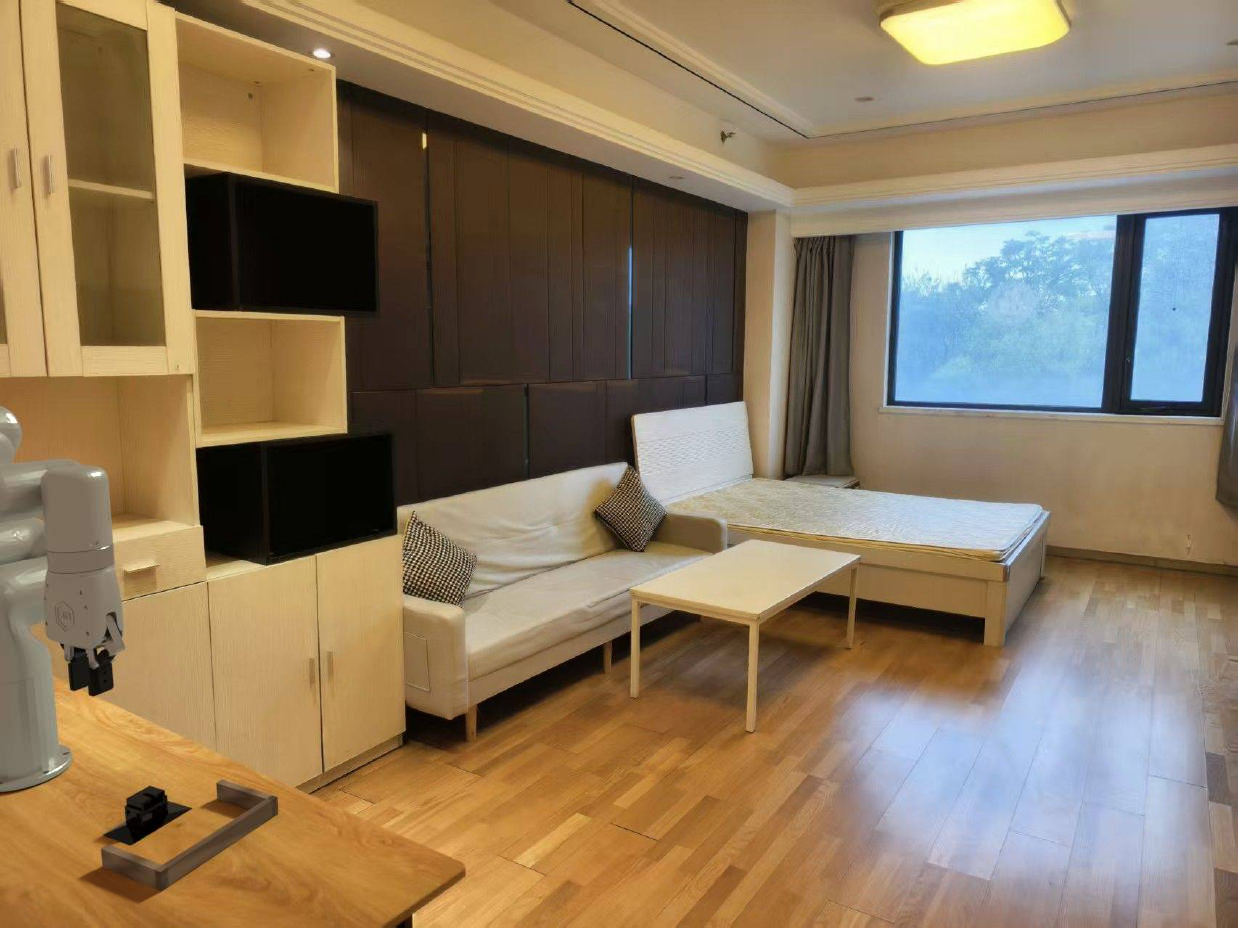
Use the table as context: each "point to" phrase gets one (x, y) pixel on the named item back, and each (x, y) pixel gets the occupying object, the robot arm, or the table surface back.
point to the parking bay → (204, 850)
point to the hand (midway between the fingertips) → (92, 688)
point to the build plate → (146, 815)
